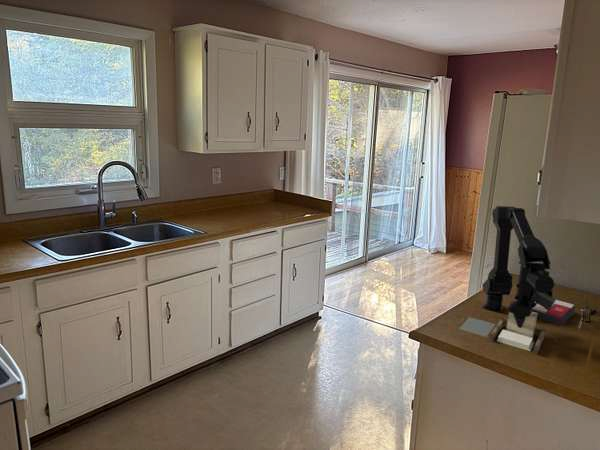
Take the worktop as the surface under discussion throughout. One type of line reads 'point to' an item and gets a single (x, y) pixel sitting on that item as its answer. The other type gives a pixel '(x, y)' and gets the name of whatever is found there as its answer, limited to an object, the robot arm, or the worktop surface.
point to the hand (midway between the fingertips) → (521, 325)
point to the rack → (537, 332)
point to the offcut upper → (515, 339)
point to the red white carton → (555, 312)
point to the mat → (477, 326)
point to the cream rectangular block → (527, 326)
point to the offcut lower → (520, 347)
